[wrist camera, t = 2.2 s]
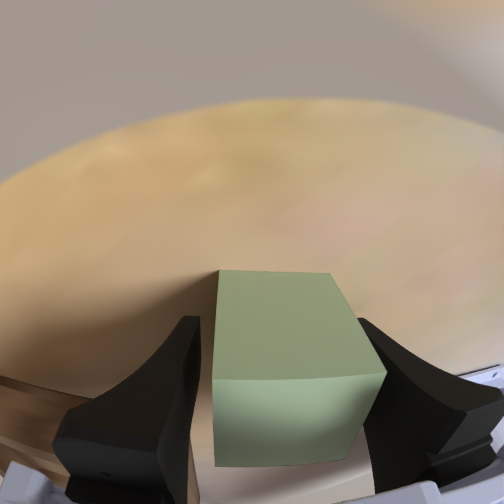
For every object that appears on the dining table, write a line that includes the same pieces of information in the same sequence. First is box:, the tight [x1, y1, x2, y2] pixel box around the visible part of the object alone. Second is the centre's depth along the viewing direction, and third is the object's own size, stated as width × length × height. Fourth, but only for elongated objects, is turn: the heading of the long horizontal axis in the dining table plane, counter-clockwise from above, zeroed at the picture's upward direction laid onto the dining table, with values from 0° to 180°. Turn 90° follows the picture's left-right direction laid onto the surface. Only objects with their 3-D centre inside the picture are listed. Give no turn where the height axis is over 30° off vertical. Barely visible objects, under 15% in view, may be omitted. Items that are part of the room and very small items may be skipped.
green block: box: [212, 270, 387, 467], centre depth 11 cm, size 4×4×6 cm
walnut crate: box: [0, 376, 200, 504], centre depth 15 cm, size 16×13×4 cm
